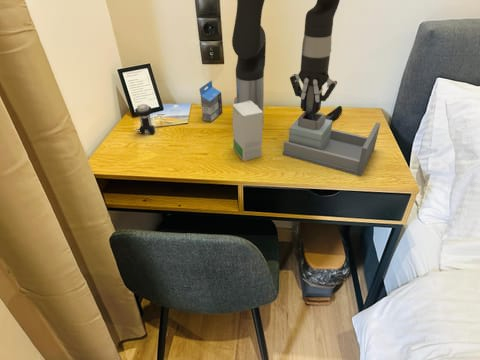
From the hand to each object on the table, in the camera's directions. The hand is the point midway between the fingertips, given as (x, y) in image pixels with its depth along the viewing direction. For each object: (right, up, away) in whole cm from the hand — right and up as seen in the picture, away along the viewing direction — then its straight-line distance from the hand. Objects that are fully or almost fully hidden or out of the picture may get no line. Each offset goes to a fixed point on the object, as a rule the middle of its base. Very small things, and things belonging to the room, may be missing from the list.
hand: (310, 111), depth 102 cm
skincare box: (-18, -12, +6) cm, 23 cm away
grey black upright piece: (-54, -4, +18) cm, 57 cm away
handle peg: (0, -3, +2) cm, 4 cm away
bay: (+7, -12, +4) cm, 14 cm away
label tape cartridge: (-31, +3, +27) cm, 41 cm away
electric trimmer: (+11, +1, +22) cm, 24 cm away
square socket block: (+1, -9, +6) cm, 11 cm away
